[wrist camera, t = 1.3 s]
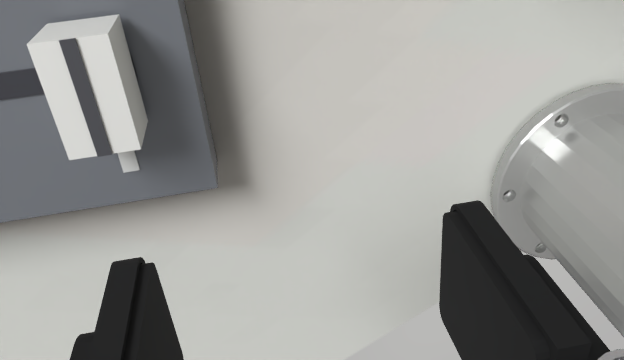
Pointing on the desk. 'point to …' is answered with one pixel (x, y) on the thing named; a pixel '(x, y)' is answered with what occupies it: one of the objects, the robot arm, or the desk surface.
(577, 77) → the desk surface
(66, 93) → the fader
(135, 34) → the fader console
